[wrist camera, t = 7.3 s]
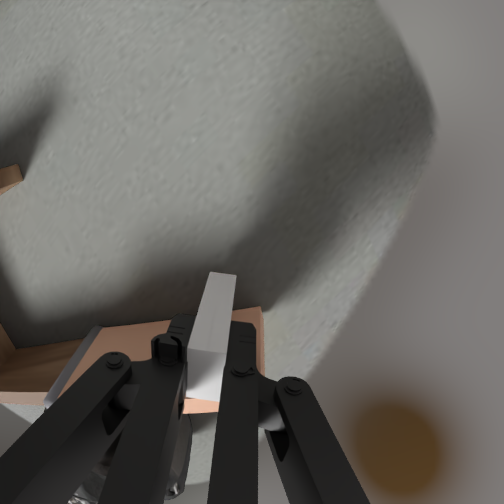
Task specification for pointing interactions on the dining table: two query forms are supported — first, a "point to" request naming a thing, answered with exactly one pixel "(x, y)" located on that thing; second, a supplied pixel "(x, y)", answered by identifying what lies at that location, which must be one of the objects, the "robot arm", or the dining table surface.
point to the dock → (29, 348)
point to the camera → (96, 478)
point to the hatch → (142, 353)
